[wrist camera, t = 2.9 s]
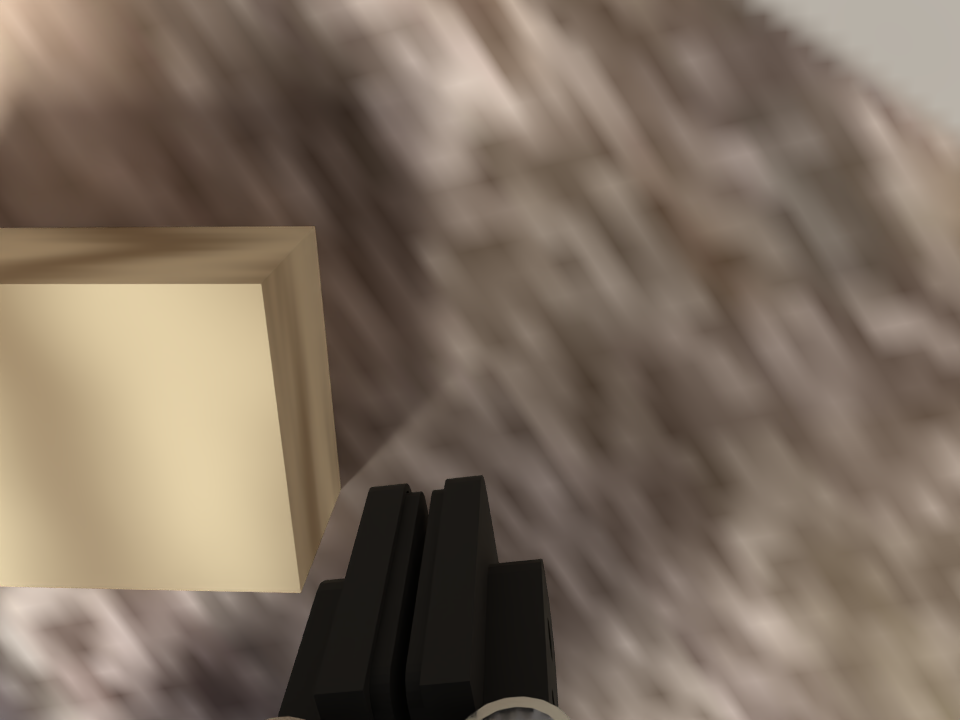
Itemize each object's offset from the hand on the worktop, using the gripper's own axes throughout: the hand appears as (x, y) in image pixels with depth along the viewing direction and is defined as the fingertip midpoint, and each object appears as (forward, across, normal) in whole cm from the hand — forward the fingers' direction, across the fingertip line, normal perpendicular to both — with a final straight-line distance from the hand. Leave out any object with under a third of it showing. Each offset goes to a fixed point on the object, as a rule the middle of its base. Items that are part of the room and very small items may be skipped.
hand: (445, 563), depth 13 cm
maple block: (+12, +9, +1) cm, 15 cm away
